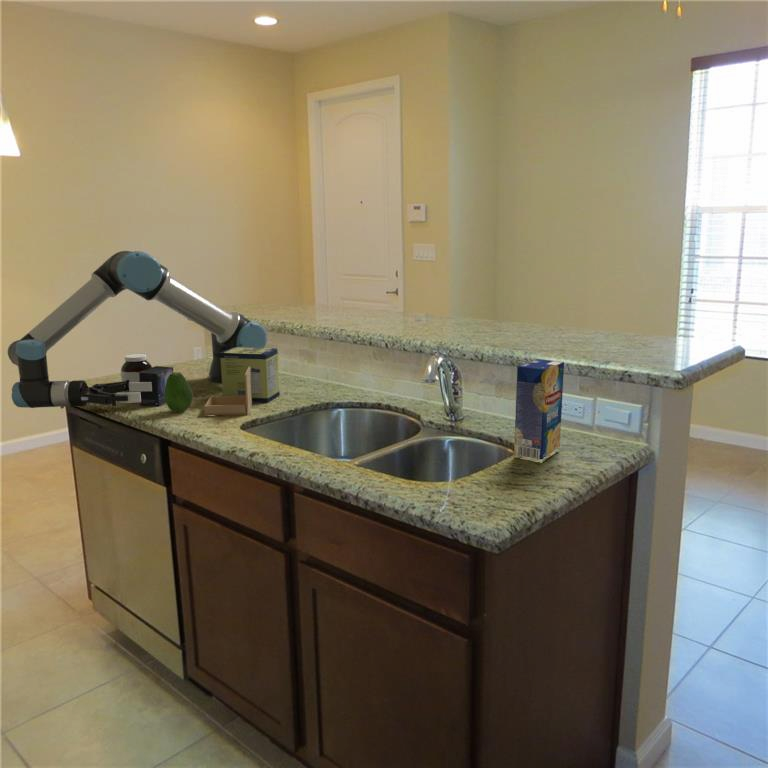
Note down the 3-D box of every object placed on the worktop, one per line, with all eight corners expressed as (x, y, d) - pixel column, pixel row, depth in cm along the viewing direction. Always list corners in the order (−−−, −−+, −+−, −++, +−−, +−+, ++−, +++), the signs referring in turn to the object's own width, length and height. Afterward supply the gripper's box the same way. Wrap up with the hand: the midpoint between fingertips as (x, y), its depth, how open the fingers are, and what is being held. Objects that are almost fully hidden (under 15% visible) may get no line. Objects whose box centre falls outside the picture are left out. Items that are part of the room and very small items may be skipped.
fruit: (199, 410, 210) (197, 371, 207) (180, 416, 203) (177, 376, 200) (179, 407, 214) (176, 368, 211) (159, 413, 207) (156, 373, 204)
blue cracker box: (559, 451, 170) (564, 361, 165) (541, 463, 162) (545, 369, 157) (533, 446, 174) (537, 358, 169) (513, 458, 165) (517, 366, 161)
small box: (159, 406, 215) (157, 373, 213) (140, 405, 216) (137, 372, 214) (176, 398, 225) (174, 366, 223) (157, 397, 226) (155, 365, 224)
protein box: (235, 393, 231) (232, 346, 228) (280, 395, 228) (278, 348, 225) (221, 401, 221) (218, 352, 218) (268, 403, 218) (266, 353, 215)
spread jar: (125, 393, 231) (122, 359, 229) (118, 387, 241) (115, 353, 238) (162, 389, 237) (159, 355, 235) (154, 383, 247) (151, 350, 244)
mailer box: (210, 406, 215) (208, 367, 212) (252, 405, 216) (250, 366, 213) (205, 416, 203) (202, 375, 201) (248, 415, 205) (246, 374, 202)
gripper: (86, 396, 217) (156, 394, 219) (56, 417, 193) (136, 415, 195) (83, 372, 216) (154, 370, 217) (53, 390, 191) (134, 388, 193)
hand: (146, 391), depth 206 cm, fingers open, 13 cm apart
